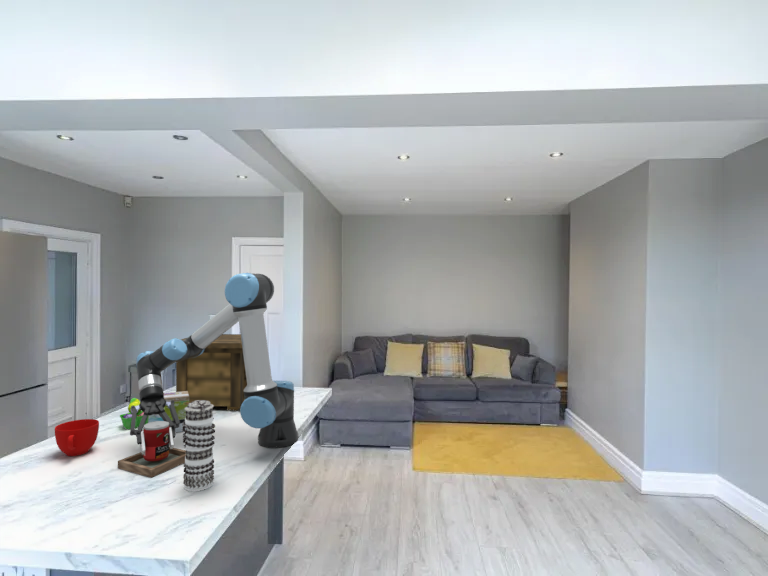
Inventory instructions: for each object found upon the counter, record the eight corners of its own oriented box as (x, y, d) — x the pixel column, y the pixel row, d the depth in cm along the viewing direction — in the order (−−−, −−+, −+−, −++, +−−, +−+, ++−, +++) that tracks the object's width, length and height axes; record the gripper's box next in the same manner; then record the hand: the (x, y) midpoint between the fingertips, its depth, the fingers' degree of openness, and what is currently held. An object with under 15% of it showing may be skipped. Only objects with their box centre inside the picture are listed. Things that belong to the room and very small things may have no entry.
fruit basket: (123, 431, 179) (123, 403, 179) (118, 425, 186) (118, 399, 185) (153, 425, 186) (154, 399, 186) (148, 420, 193) (148, 394, 193)
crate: (200, 393, 240) (201, 333, 239) (264, 394, 239) (265, 334, 239) (168, 412, 205) (168, 342, 204) (243, 413, 204) (243, 343, 204)
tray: (193, 459, 151) (193, 452, 151) (151, 477, 137) (151, 470, 137) (160, 451, 158) (160, 444, 158) (117, 468, 144) (117, 460, 144)
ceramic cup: (46, 466, 144) (46, 436, 144) (60, 448, 160) (60, 421, 160) (92, 460, 149) (92, 431, 149) (102, 443, 165) (102, 417, 165)
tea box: (147, 437, 173) (147, 399, 173) (148, 429, 182) (148, 393, 182) (189, 431, 180) (189, 395, 180) (187, 424, 189) (187, 389, 188)
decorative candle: (179, 482, 134) (179, 400, 133) (211, 475, 139) (211, 396, 139) (185, 494, 126) (185, 408, 126) (218, 486, 131) (219, 403, 131)
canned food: (158, 462, 143) (158, 429, 143) (137, 460, 145) (137, 427, 144) (174, 453, 151) (174, 421, 150) (154, 451, 152) (154, 420, 152)
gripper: (180, 392, 166) (189, 448, 153) (117, 400, 154) (121, 462, 141) (183, 381, 161) (193, 437, 148) (118, 388, 150) (122, 450, 137)
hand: (158, 449), depth 145 cm, fingers closed on canned food, 8 cm apart
